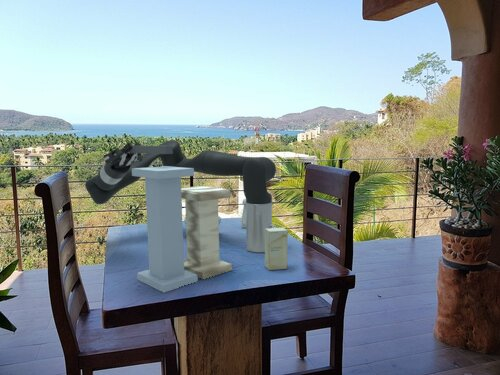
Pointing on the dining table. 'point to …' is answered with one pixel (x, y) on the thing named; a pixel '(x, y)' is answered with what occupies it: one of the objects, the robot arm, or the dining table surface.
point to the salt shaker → (244, 215)
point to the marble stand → (203, 230)
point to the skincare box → (276, 248)
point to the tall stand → (164, 228)
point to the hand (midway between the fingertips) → (134, 144)
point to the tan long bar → (152, 149)
